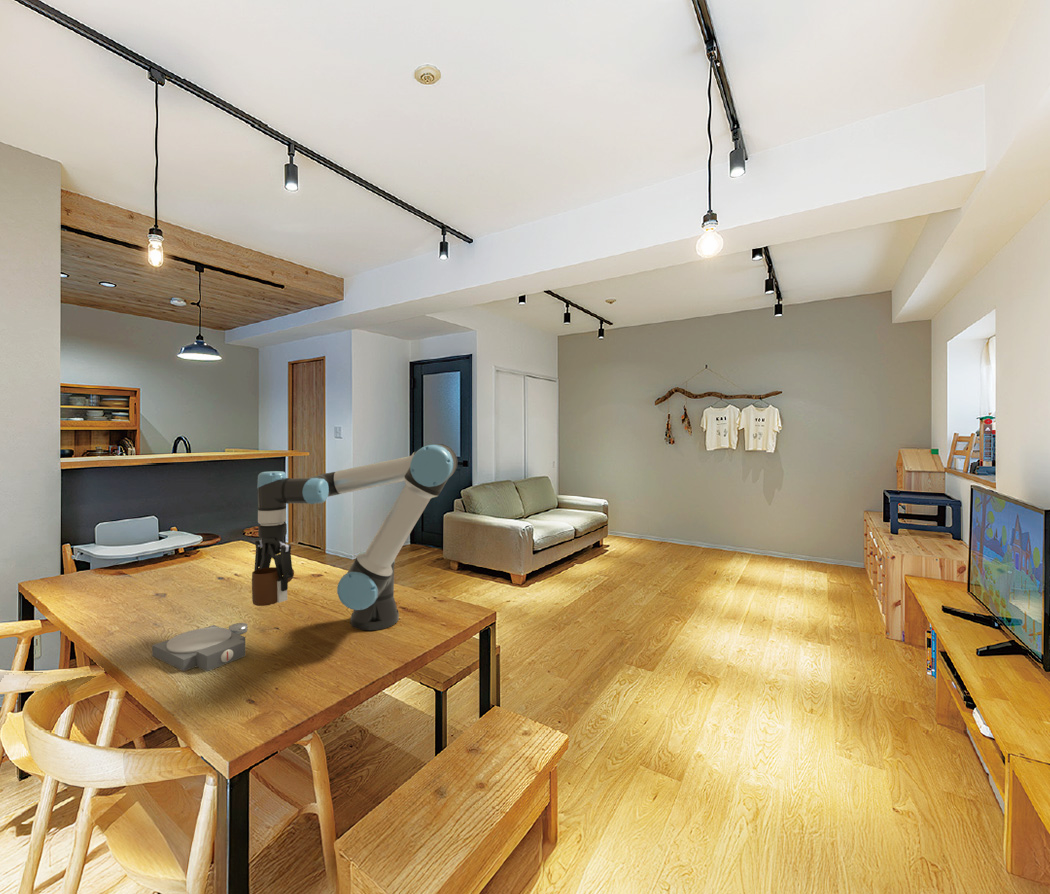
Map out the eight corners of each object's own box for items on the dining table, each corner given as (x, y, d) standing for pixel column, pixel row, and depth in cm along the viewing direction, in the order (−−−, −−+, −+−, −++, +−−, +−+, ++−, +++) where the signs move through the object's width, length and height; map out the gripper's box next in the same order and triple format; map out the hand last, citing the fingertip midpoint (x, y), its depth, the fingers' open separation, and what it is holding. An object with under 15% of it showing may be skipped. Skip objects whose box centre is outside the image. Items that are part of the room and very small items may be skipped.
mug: (288, 591, 151) (287, 562, 151) (300, 597, 147) (300, 566, 146) (247, 603, 142) (246, 571, 141) (259, 608, 137) (258, 576, 137)
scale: (256, 651, 135) (256, 638, 135) (195, 676, 121) (195, 661, 121) (213, 634, 145) (213, 621, 145) (152, 655, 131) (152, 641, 131)
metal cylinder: (250, 631, 149) (251, 624, 149) (235, 637, 144) (235, 630, 144) (240, 628, 151) (240, 621, 151) (224, 633, 147) (224, 627, 147)
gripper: (306, 524, 142) (307, 600, 143) (263, 518, 152) (264, 589, 152) (282, 528, 135) (283, 608, 136) (239, 522, 145) (241, 596, 146)
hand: (273, 598), depth 144 cm, fingers closed on mug, 7 cm apart
